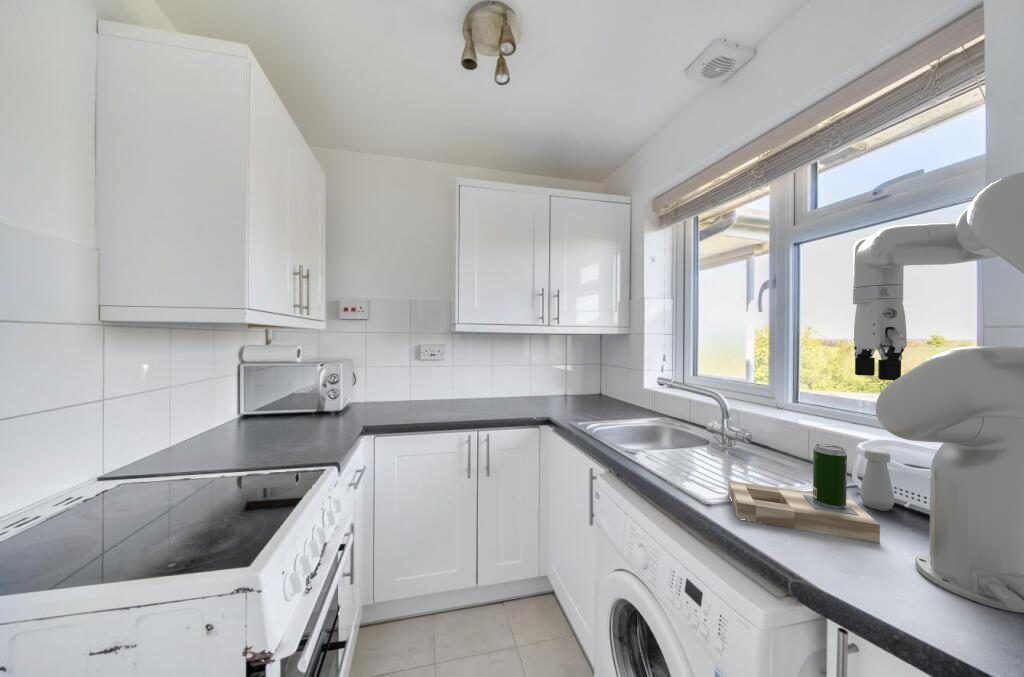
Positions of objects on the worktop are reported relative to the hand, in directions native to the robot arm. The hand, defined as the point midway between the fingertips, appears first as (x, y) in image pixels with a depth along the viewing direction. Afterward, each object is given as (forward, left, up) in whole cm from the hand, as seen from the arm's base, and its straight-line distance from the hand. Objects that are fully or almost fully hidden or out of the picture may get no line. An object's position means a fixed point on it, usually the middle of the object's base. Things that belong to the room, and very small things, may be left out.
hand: (876, 377), depth 78 cm
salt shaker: (+9, -4, -31) cm, 32 cm away
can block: (-4, +15, -30) cm, 34 cm away
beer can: (-4, +9, -27) cm, 29 cm away
